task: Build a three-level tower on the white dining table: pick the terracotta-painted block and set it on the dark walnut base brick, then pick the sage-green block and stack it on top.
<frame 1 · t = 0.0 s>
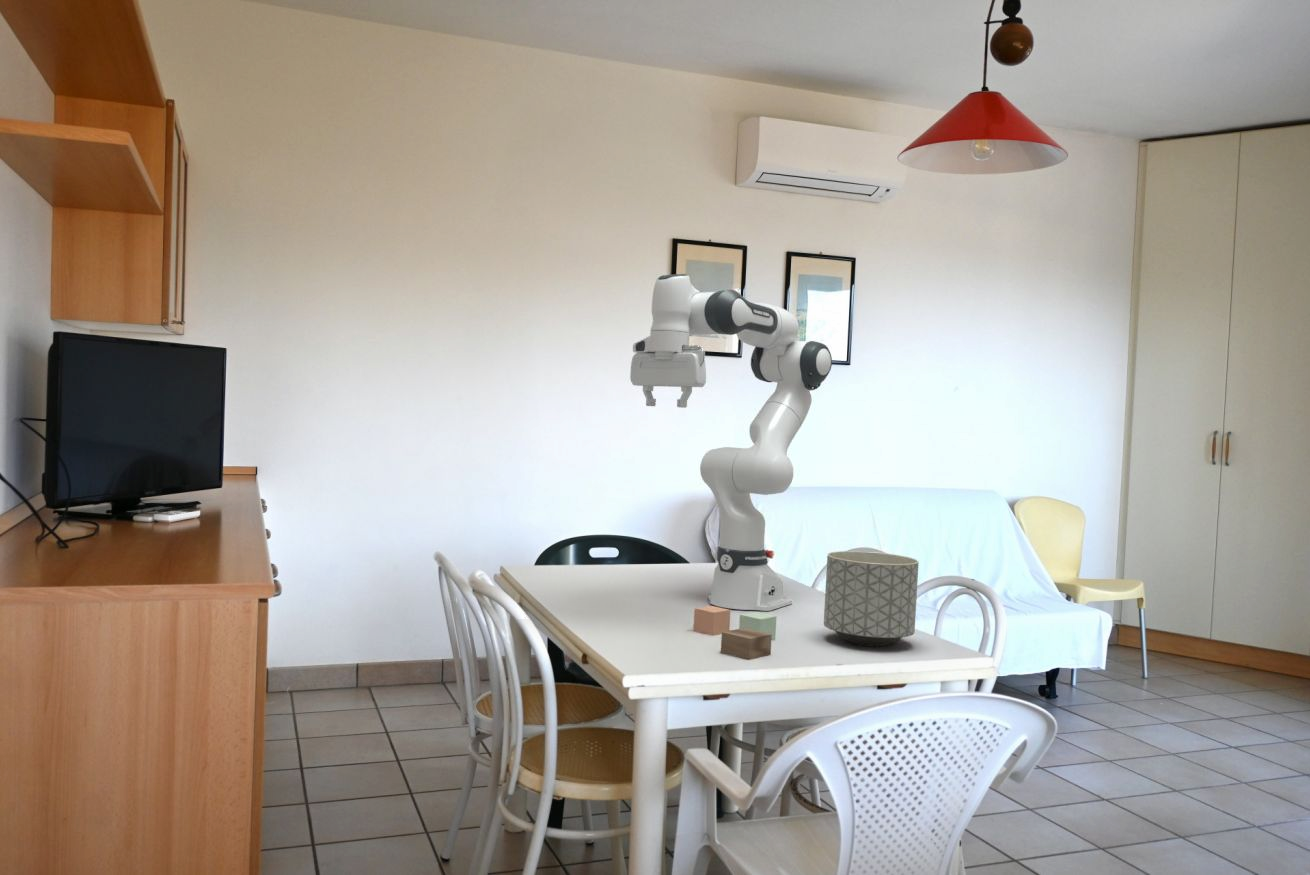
hand: (666, 406, 225), 48 cm above the table, fingers open, 8 cm apart
sage block: (756, 639, 211), on the table
planter: (867, 642, 213), on the table
walnut base: (745, 653, 196), on the table
terracotta block: (711, 632, 215), on the table
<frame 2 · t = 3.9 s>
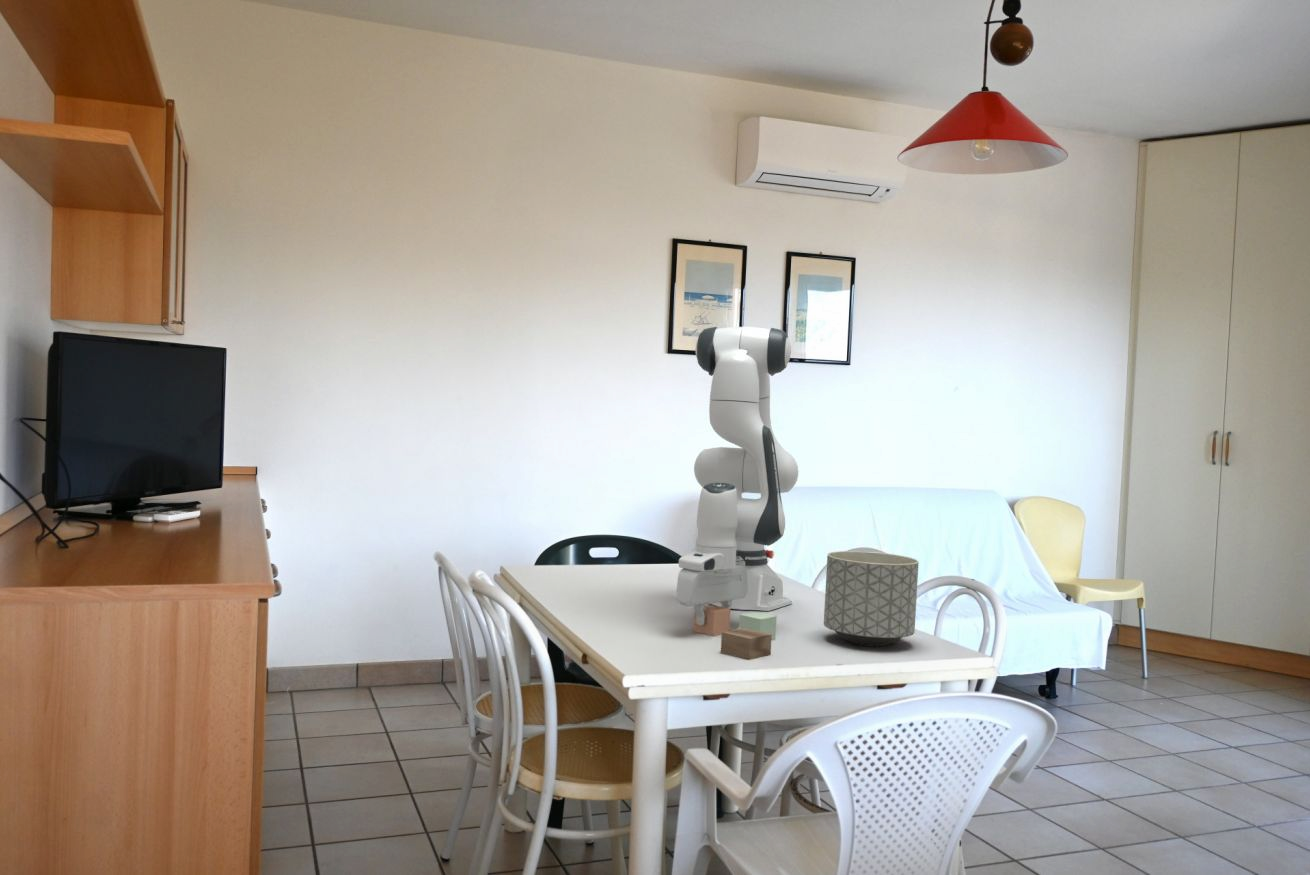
hand: (711, 622, 215), 2 cm above the table, fingers closed on terracotta block, 5 cm apart
terracotta block: (711, 631, 215), on the table, touching gripper
everything else where it was.
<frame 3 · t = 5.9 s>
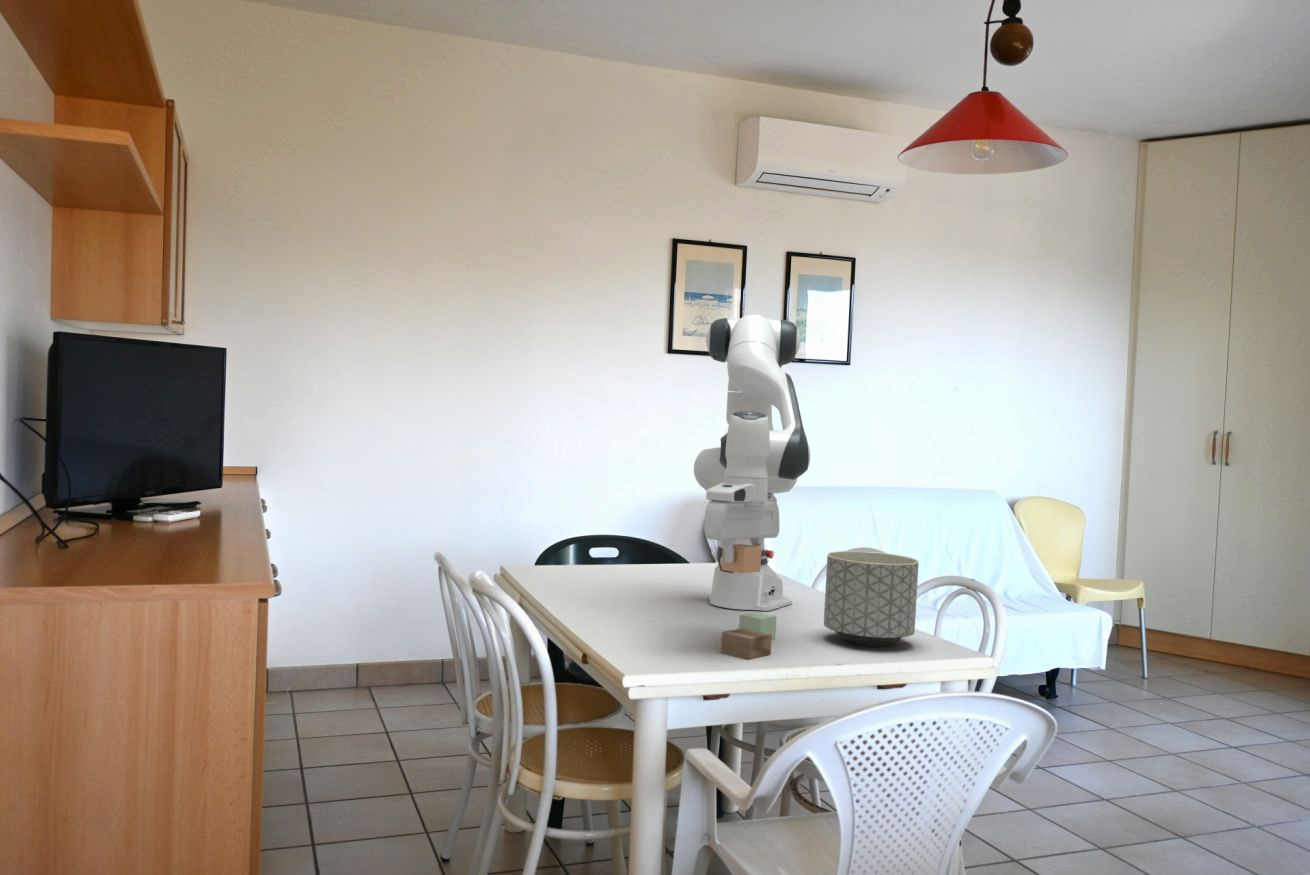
hand: (741, 561, 199), 18 cm above the table, fingers closed on terracotta block, 5 cm apart
terracotta block: (740, 570, 199), point 16 cm above the table, touching gripper
everything else where it was.
when the fingers open (7 cm above the table, at t = 8.4 s): terracotta block stays where it is, resting on walnut base.
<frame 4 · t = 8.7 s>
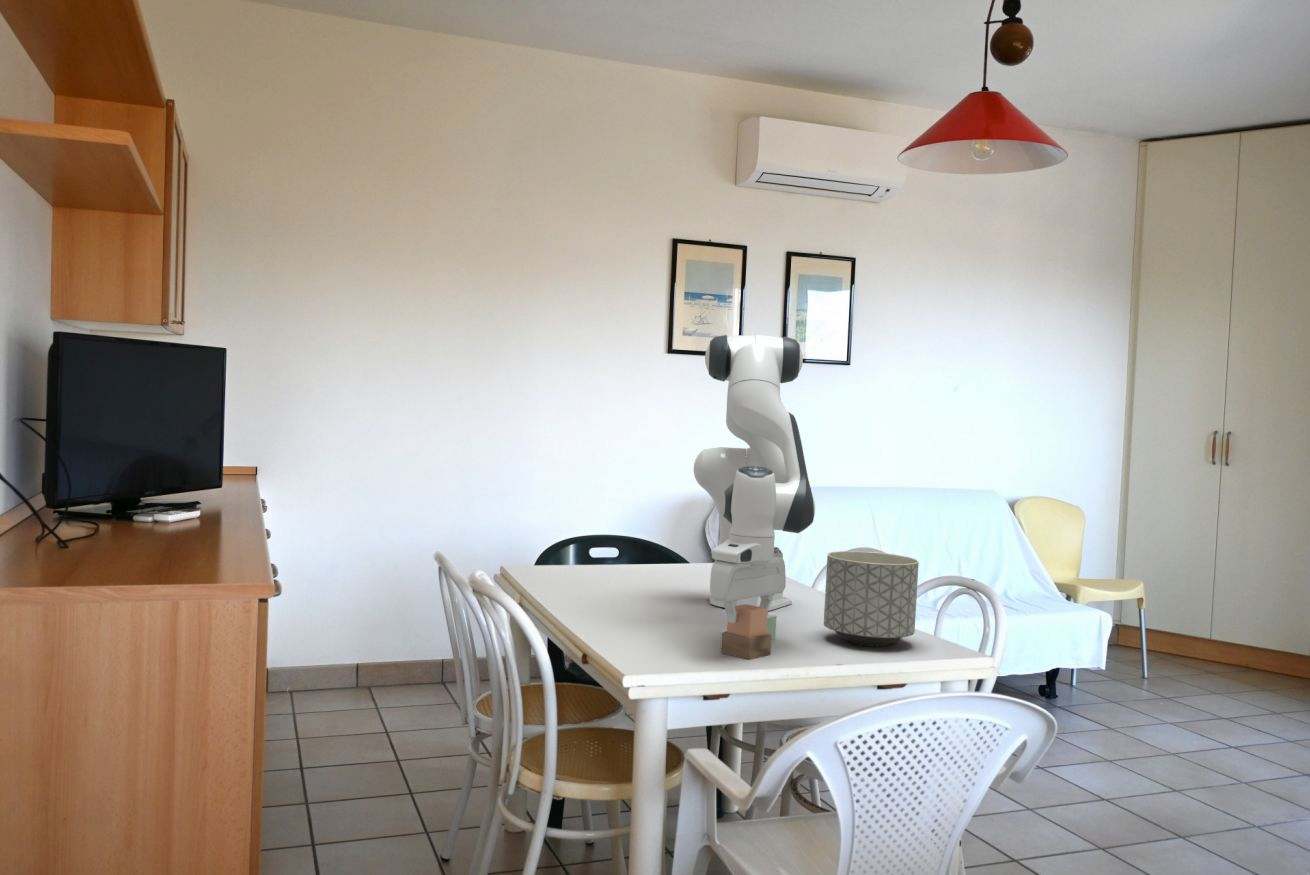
hand: (747, 619, 196), 7 cm above the table, fingers open, 8 cm apart
terracotta block: (746, 633, 196), point 4 cm above the table, touching walnut base
everything else where it was.
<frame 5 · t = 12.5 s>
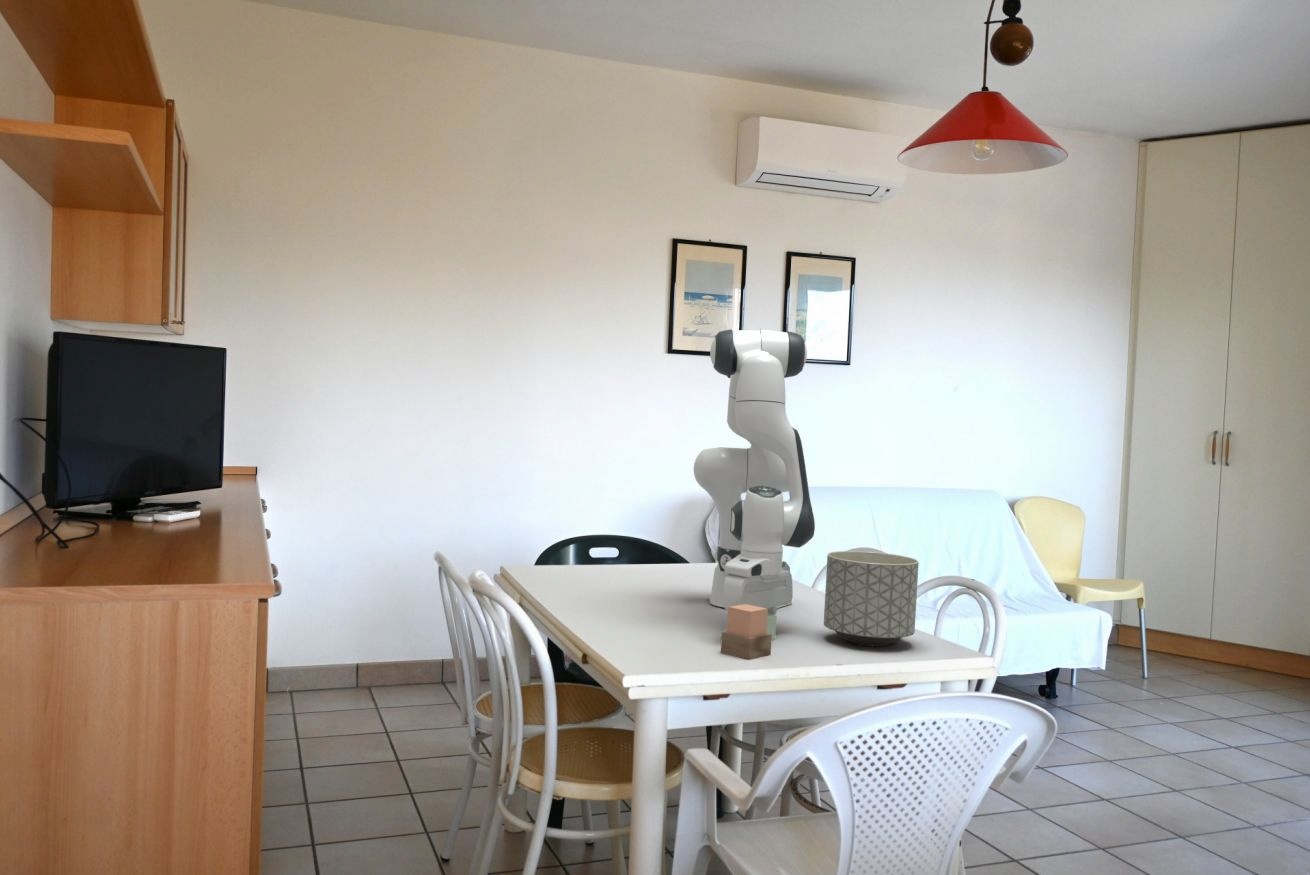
hand: (757, 629, 211), 2 cm above the table, fingers closed on sage block, 5 cm apart
sage block: (756, 638, 211), on the table, touching gripper
everything else where it was.
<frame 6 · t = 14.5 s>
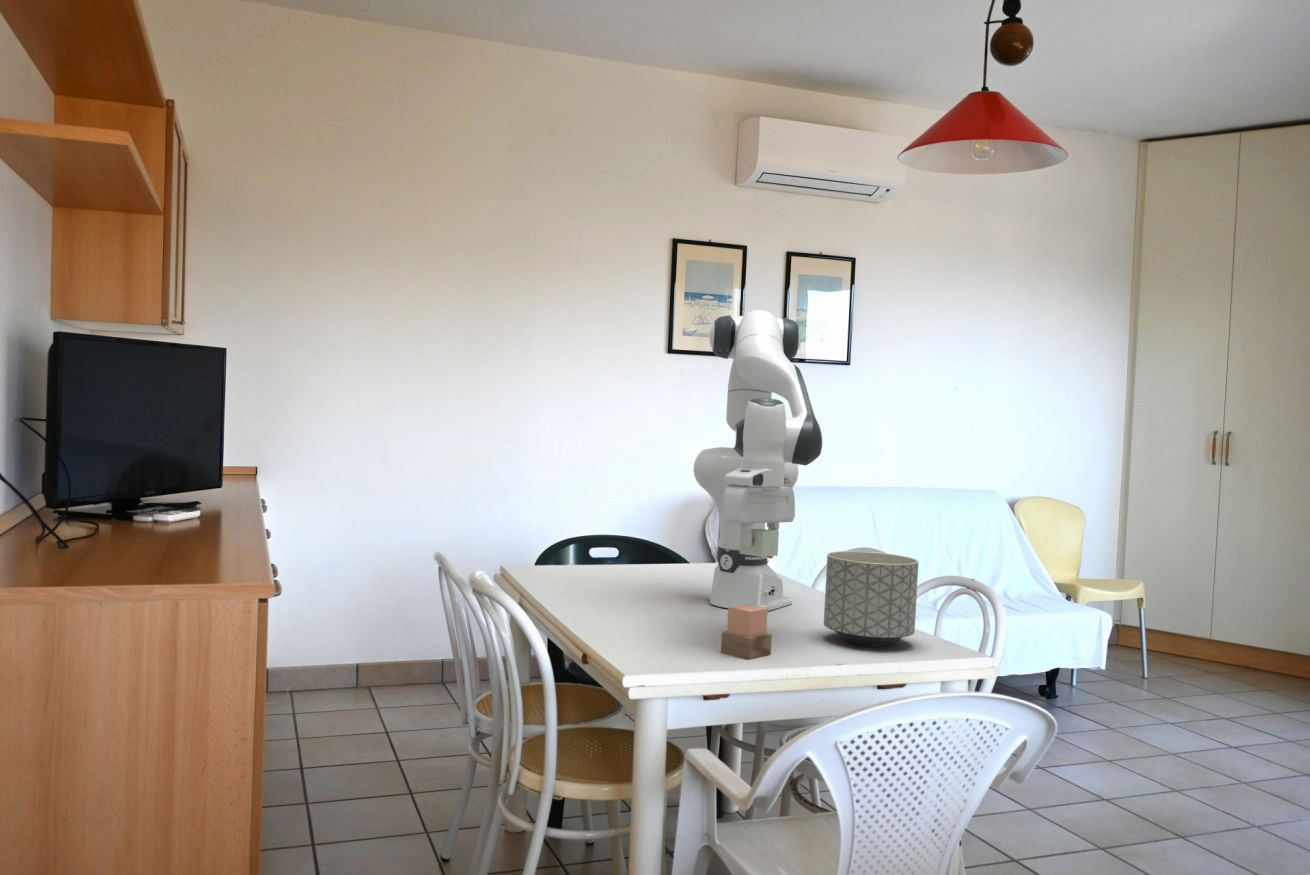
hand: (758, 545, 203), 21 cm above the table, fingers closed on sage block, 5 cm apart
sage block: (758, 554, 203), point 19 cm above the table, touching gripper
everything else where it was.
when the fingers open (12 cm above the table, at t = 16.8 s): sage block stays where it is, resting on terracotta block.
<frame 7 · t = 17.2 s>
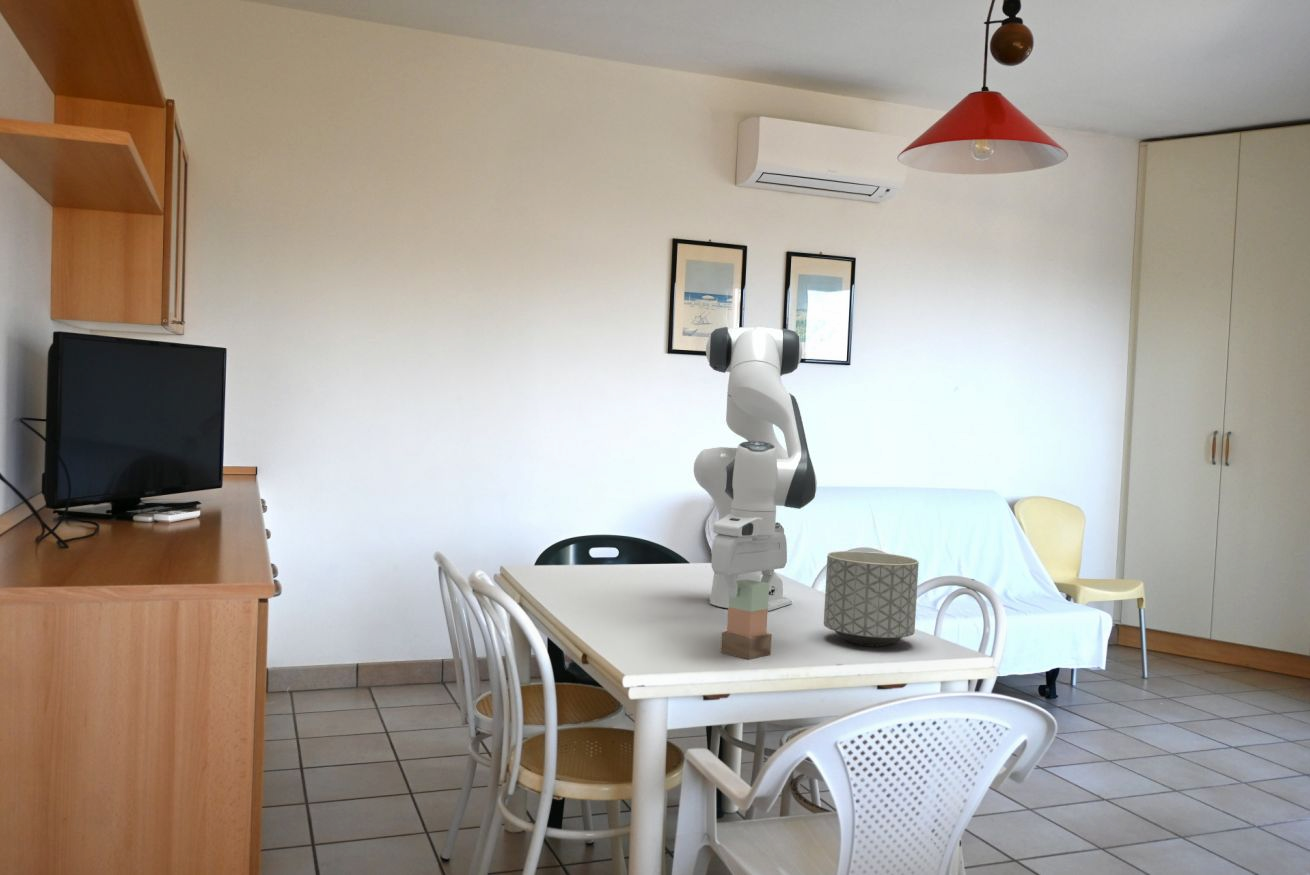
hand: (748, 594, 196), 12 cm above the table, fingers open, 8 cm apart
sage block: (748, 607, 196), point 9 cm above the table, touching terracotta block
terracotta block: (746, 633, 196), point 4 cm above the table, touching sage block, walnut base
everything else where it was.
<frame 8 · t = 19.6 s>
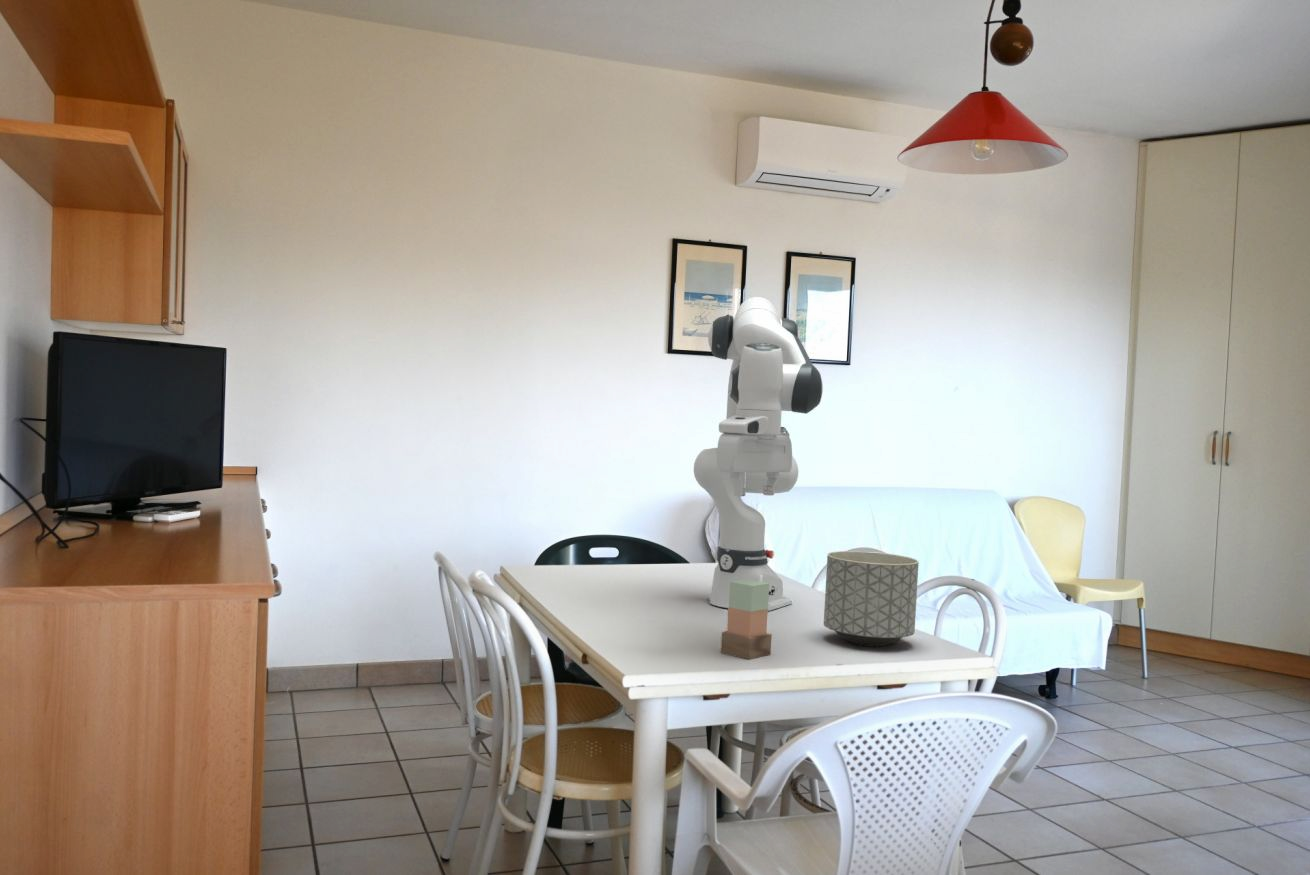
hand: (754, 495, 196), 31 cm above the table, fingers open, 8 cm apart
nothing on the table moved.
at the end: terracotta block 0.1 cm off-centre on the walnut base, point 4.0 cm above the walnut base's base; sage block 0.0 cm off-centre on the walnut base, point 9.0 cm above the walnut base's base; sage block tilted 0° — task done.
